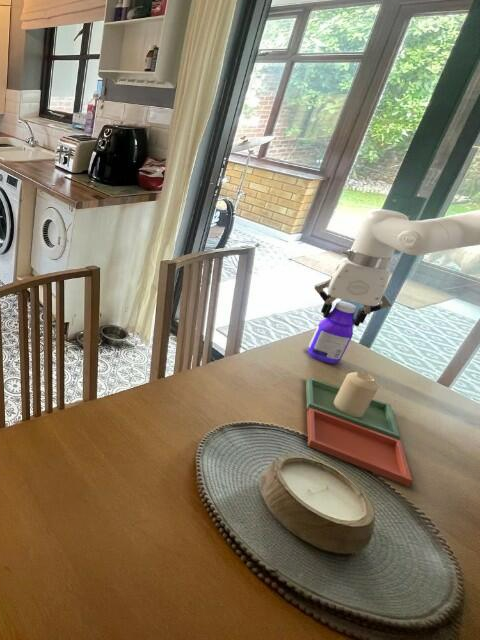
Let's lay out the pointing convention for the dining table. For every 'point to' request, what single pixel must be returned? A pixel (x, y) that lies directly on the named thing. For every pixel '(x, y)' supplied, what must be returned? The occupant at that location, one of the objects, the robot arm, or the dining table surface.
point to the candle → (356, 394)
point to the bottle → (333, 334)
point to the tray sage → (373, 418)
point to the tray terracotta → (358, 446)
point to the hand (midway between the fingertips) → (340, 319)
